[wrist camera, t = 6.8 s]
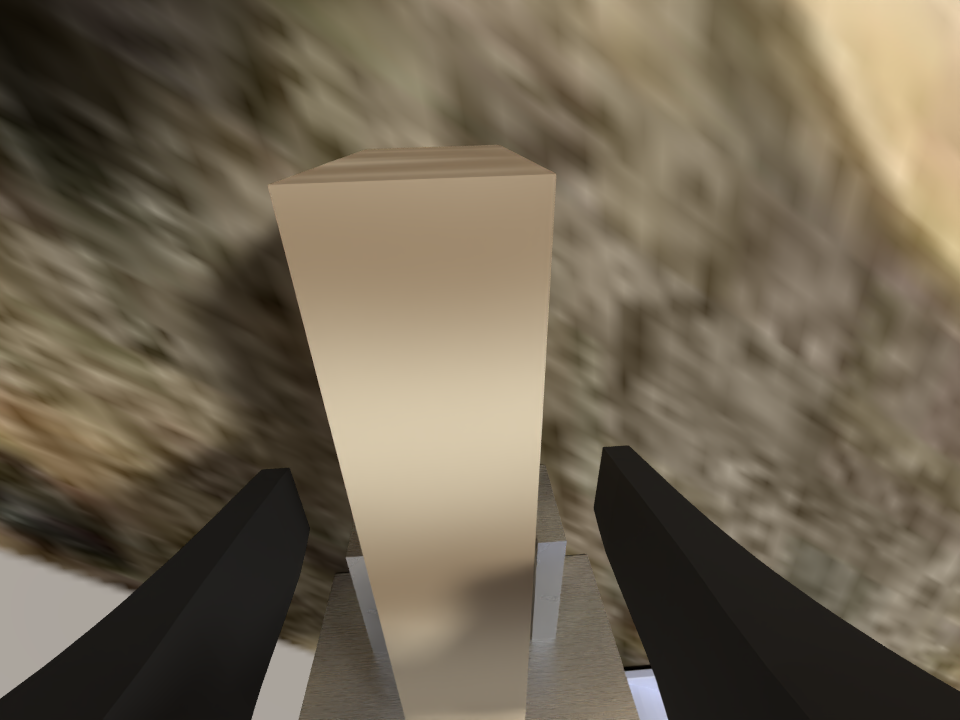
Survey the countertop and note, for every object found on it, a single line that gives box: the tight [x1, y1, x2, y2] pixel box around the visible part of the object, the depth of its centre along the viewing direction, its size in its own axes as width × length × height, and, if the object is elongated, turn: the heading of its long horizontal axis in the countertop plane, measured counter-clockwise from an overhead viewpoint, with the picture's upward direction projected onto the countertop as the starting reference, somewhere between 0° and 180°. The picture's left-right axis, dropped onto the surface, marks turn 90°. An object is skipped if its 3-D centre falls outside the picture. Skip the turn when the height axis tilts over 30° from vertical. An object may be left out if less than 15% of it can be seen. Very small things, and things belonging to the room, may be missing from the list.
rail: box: [268, 145, 556, 720], centre depth 10 cm, size 14×3×6 cm, turn 2°
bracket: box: [299, 465, 640, 720], centre depth 13 cm, size 6×10×6 cm, turn 92°
